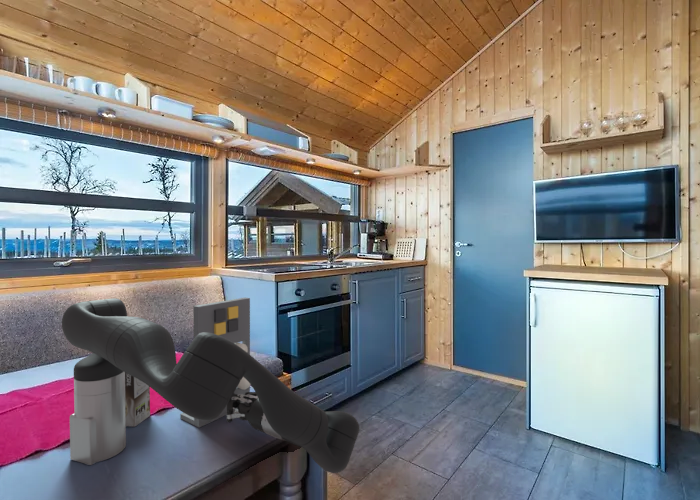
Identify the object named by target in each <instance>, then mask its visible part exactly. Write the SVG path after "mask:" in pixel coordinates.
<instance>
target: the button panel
mask: <svg viewBox="0 0 700 500" xmlns="http://www.w3.org/2000/svg"><path fill="white" fill-rule="evenodd" d="M192 307H193V311H192V313H193V339H194V338H195V337H196V336H197V335H198V334H199V333H202V332H209V333H213V334H216V335H219V336H221V337H223V338H225V339H227V340H229V341H231V342H233V343H242V344H245V345H246V346H247V348H248V352H247V353H248V354H249V355H251V339H250V338H251V322H250V321H251V298H250V297H239V298H233V299H227V300H222V301H216V302H209V303H204V304H197V305H193V306H192ZM246 392H251V385H250V386H249V387H248V388H247V389H245V390H243V389H240V388H238V387H237V388H236V390H235V391H234V394H237V395H238V394H243V395H245V393H246ZM225 416H227V405H226V407H225V409H224V410H223V411H222V413H221V414H220V415H219V416H218V417H217V418H215V419H213V420H200V419H196V418H193V417H191V416H189V415H187V414H185V413H183V412H182V413H180V415H179V417H180V419H181V420H183V421H184V422H186V423H189V424H191V425H192V426H195V427H197V428H199V429H200V428H201V427H204V426H205V425H208V424H210V423H212V422H214V421H216V420H219V419H221V418H223V417H225Z"/></svg>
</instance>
